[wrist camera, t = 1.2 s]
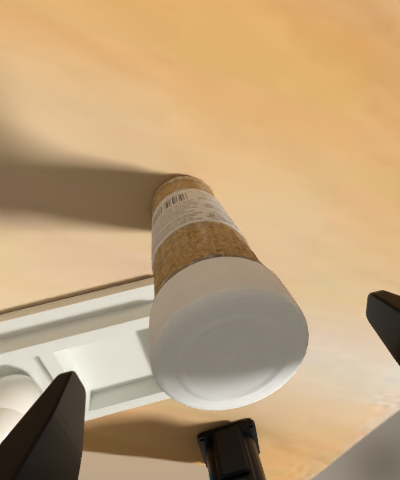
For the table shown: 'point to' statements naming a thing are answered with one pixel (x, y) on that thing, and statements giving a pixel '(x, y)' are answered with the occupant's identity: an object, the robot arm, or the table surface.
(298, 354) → the sprinkles bottle
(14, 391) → the egg
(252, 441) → the robot arm
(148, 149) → the table surface
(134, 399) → the tray
